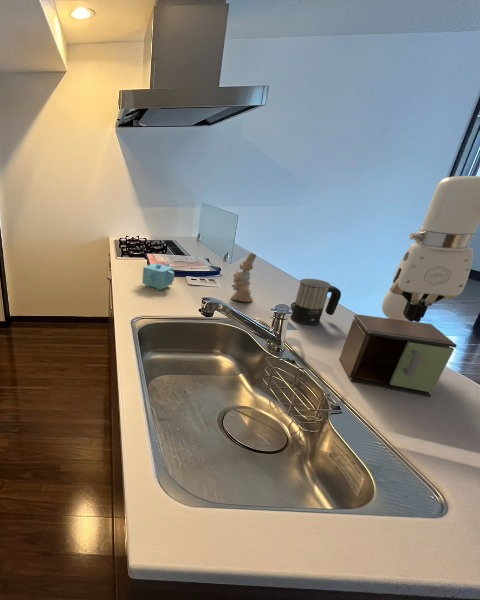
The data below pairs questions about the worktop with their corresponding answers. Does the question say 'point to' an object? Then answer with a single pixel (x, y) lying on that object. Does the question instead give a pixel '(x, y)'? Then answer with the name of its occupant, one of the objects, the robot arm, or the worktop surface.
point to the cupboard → (384, 348)
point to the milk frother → (314, 301)
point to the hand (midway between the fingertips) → (411, 319)
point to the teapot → (158, 275)
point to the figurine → (243, 280)
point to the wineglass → (394, 306)
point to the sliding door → (421, 366)
